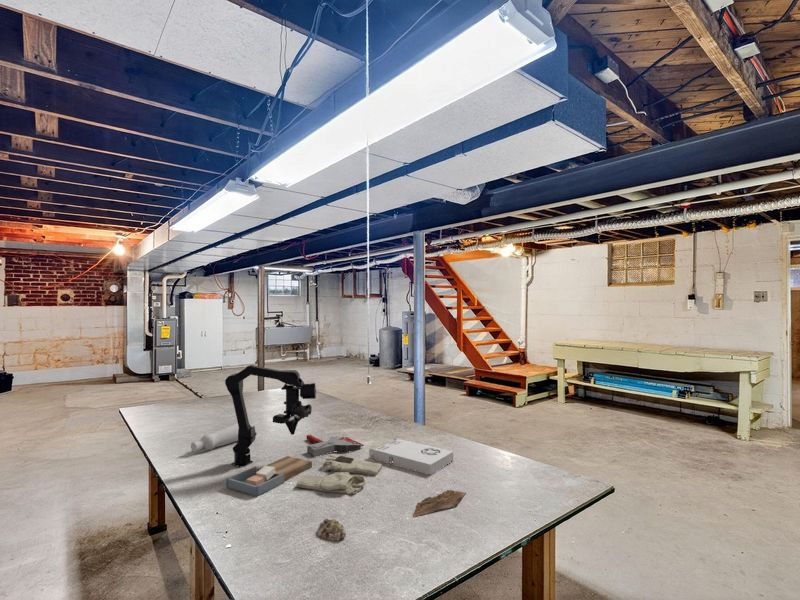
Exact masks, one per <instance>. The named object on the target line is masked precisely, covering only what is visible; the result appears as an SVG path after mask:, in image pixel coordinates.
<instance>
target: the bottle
mask: <svg viewBox="0 0 800 600" xmlns="http://www.w3.org/2000/svg"><path fill="white" fill-rule="evenodd" d="M238 430H239V426H238V422H236V423H234V424H232V425H230V426H227V427H224V428H222V429H219V430H216V431H214V432H212V433H206V434H204V435H203V436H202V437H201V438H200V439H199V440H198V441H192V443H190V449H191V451H192V452H193V453H196V452H198V451H202V450H203V451H207V452H209V450H210V451H212V450H213V449H214V448H219V447H222V446H226V445H229V444H233V443H235V442H238Z"/></svg>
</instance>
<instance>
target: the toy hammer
mask: <svg viewBox="0 0 800 600" xmlns="http://www.w3.org/2000/svg"><path fill="white" fill-rule="evenodd" d="M306 440H307V441H310V442H312V443H313V444H308V445H306V448H307V449H306V453H307V454H308V455H310V454H311V455H310V456H311V457H314V458H316V456H317V457H320V455H321V456H324V455H323V454H325V455H328V454H327V453H329V454H331V453H330V452H333V453H335V452H334V451H337V452H336V453H347V452H348V453H350V452H349V451H352V452H354V451H356V450H358V449H361V447H364V445H365V444H363V443H360V442H359V441H356V440H354V439H351V438H350V437H347V436H330V437H329V439H328V440H326V441H324V440H322V439H319V438H318V437H315V436H314V435H312V434H307V435H306ZM353 450H354V451H353Z"/></svg>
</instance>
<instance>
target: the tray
mask: <svg viewBox="0 0 800 600" xmlns="http://www.w3.org/2000/svg"><path fill="white" fill-rule="evenodd" d="M257 469H258V468H257V466H253V467H251V468H248V469H245V470H244V471H242V472H241V471H240V472H239V473H237V474H235V475H232V476H230V477H228V478H226V489H229V490H231V491H234V492H238V493H241V494H245V495H247V496H252V497H254V498H258V497H259V496H261V495H264V494H266V493H267V492H270V491H271V490H274V489H275V488H277V487H279V486H281V485H284V483H285V481H284V474H281V475H278V476H276V477H274V478H269V479H268V480H266V482H264V483H262V484H260V485H258V486H255V485H251V484H248V483H246V479H248V478H250V477H252V476H254V475H256V473H257Z"/></svg>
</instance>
